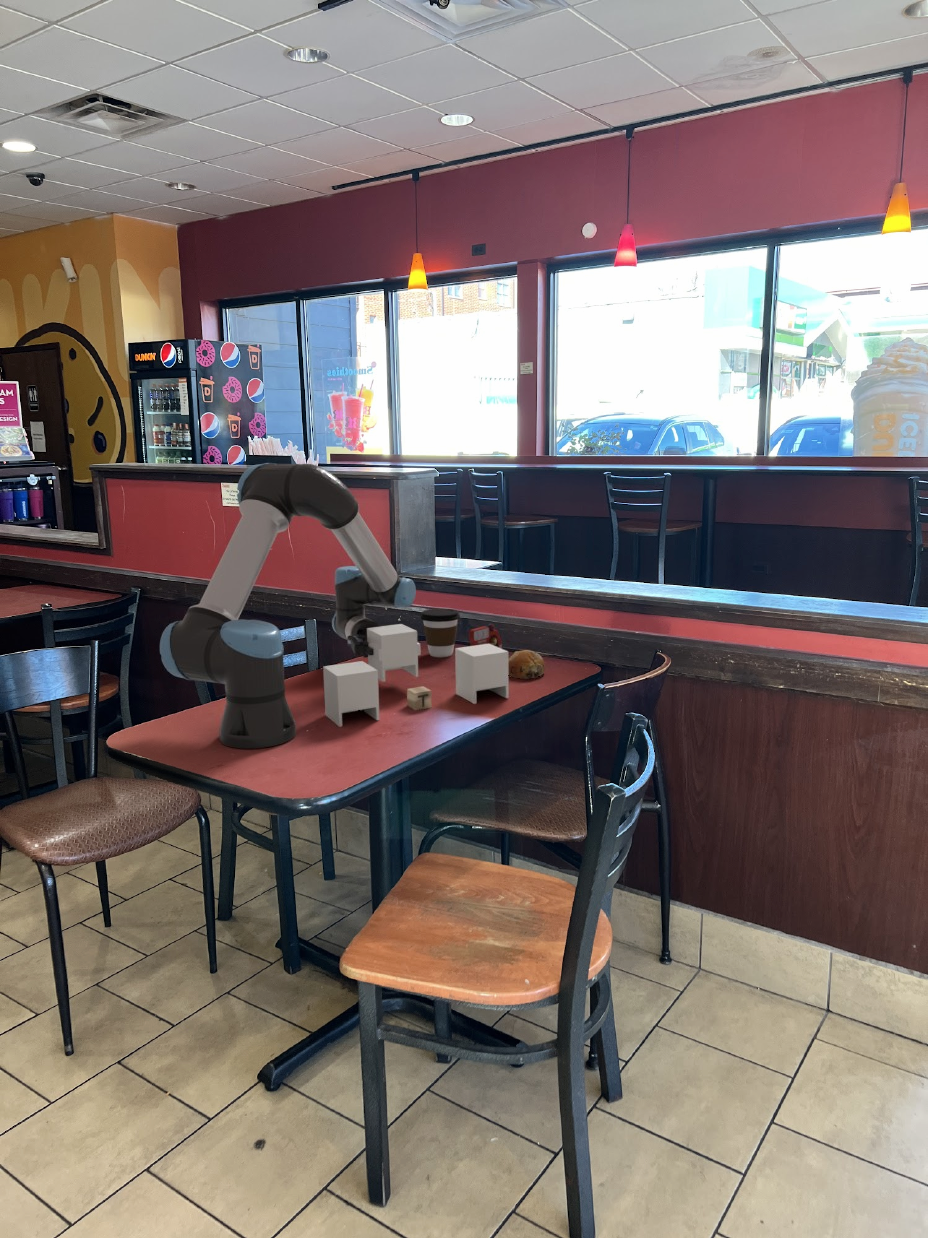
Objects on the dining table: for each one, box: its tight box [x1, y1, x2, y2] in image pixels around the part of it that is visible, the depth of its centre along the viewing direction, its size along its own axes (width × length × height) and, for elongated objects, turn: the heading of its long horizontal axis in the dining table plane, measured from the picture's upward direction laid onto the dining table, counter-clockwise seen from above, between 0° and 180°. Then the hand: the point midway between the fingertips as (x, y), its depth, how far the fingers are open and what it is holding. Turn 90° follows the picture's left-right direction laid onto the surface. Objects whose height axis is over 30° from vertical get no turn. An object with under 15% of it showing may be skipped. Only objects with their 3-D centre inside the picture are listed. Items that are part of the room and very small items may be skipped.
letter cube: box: [406, 686, 432, 711], centre depth 199 cm, size 4×4×4 cm
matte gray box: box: [454, 644, 510, 705], centre depth 205 cm, size 9×9×11 cm
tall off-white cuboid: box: [367, 623, 419, 683], centre depth 210 cm, size 9×9×11 cm
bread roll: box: [508, 649, 546, 680], centre depth 224 cm, size 10×10×8 cm
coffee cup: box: [420, 608, 461, 658], centre depth 244 cm, size 11×11×12 cm
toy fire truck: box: [468, 623, 505, 650], centre depth 234 cm, size 7×12×10 cm, turn 140°
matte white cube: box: [322, 660, 380, 728], centre depth 191 cm, size 9×9×11 cm
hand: (400, 652), depth 206 cm, fingers closed on tall off-white cuboid, 9 cm apart
